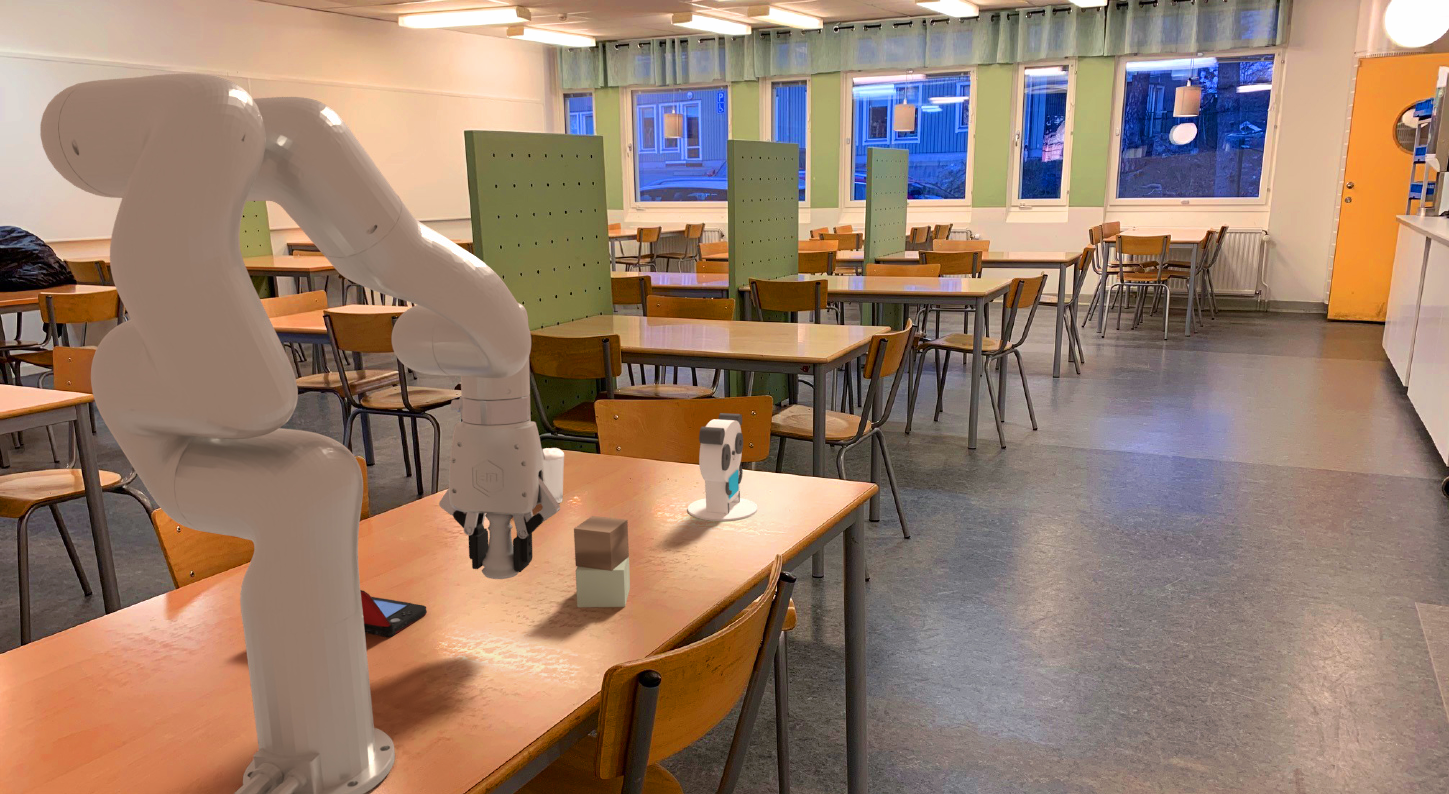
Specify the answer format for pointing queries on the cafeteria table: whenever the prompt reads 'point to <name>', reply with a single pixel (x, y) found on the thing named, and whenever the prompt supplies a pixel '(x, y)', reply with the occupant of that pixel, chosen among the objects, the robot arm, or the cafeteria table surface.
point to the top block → (601, 543)
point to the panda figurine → (722, 471)
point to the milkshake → (554, 471)
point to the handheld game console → (388, 615)
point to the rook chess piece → (499, 548)
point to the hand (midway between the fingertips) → (501, 565)
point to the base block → (603, 586)
